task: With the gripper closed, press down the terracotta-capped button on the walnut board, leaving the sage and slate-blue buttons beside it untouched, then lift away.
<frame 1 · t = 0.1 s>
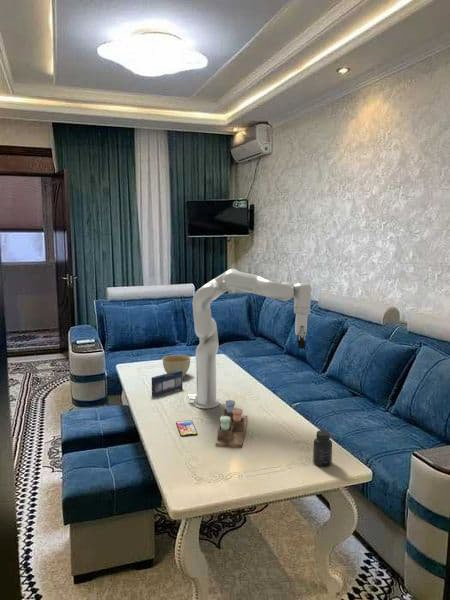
hand: (300, 345, 225), 31 cm above the table, fingers open, 9 cm apart
button slate: (230, 408, 213), point 6 cm above the table, slide at 0.0 cm
supplement bottle: (322, 463, 178), on the table
button terracotta: (237, 417, 204), point 6 cm above the table, slide at 0.0 cm
button board: (232, 431, 205), on the table
smartphone: (186, 429, 208), on the table
button sage: (225, 425, 195), point 6 cm above the table, slide at 0.0 cm
vhs cassette tape: (167, 392, 252), on the table
planter bowl: (176, 376, 278), on the table
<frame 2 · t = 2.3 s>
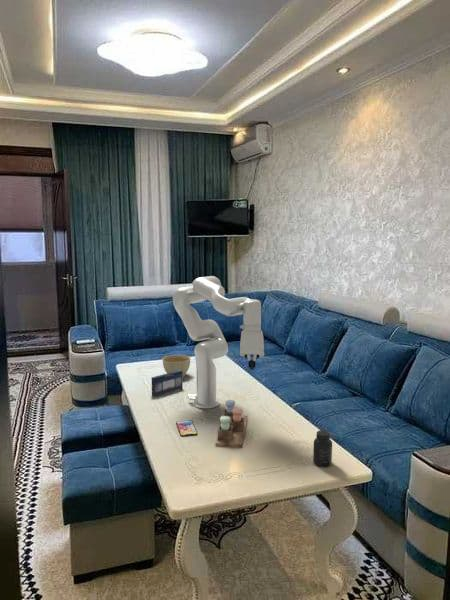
hand: (251, 368, 211), 25 cm above the table, fingers closed
nothing on the table moved.
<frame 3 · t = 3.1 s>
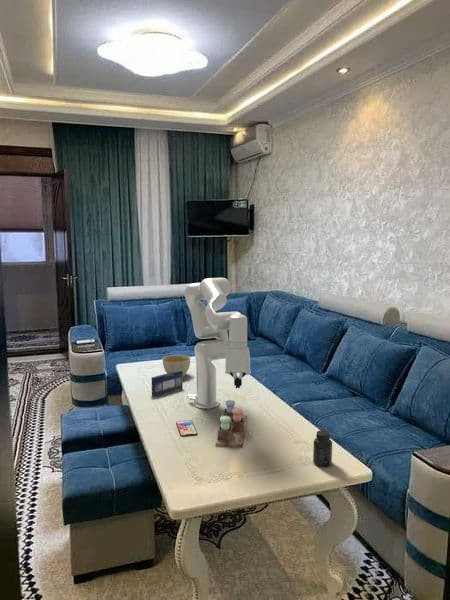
hand: (237, 387, 201), 20 cm above the table, fingers closed
nothing on the table moved.
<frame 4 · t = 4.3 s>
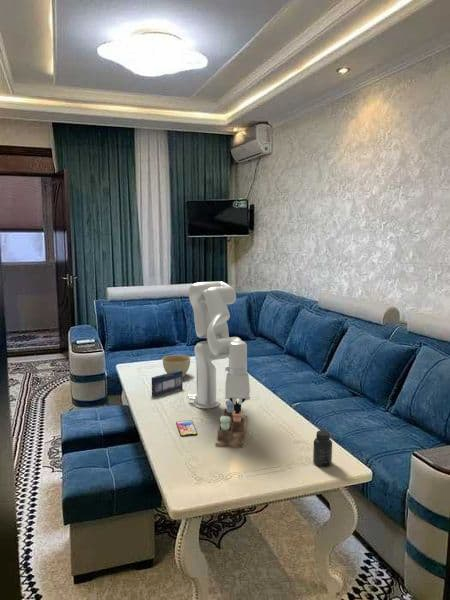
hand: (237, 412, 203), 9 cm above the table, fingers closed
button terracotta: (237, 419, 204), point 6 cm above the table, slide at 1.0 cm, touching gripper
everything else where it was.
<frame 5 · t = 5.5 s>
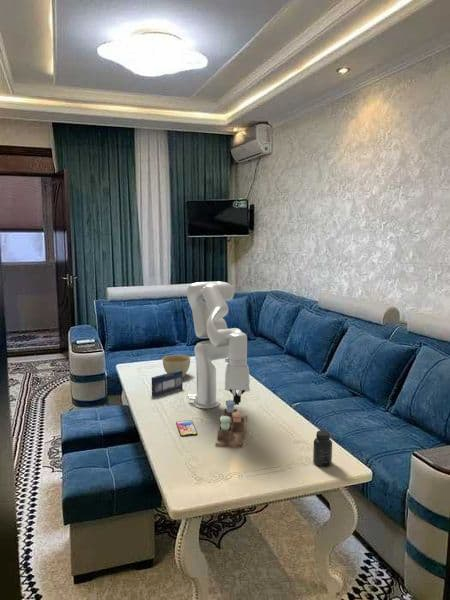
hand: (237, 403, 203), 12 cm above the table, fingers closed
button terracotta: (237, 420, 204), point 5 cm above the table, slide at 1.6 cm
everything else where it was.
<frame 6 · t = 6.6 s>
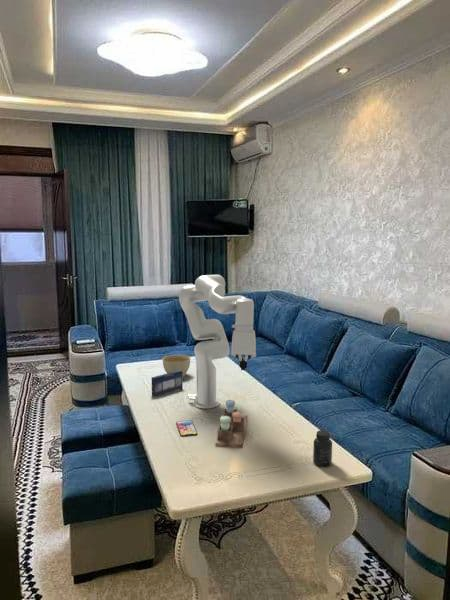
hand: (243, 369, 206), 26 cm above the table, fingers closed
nothing on the table moved.
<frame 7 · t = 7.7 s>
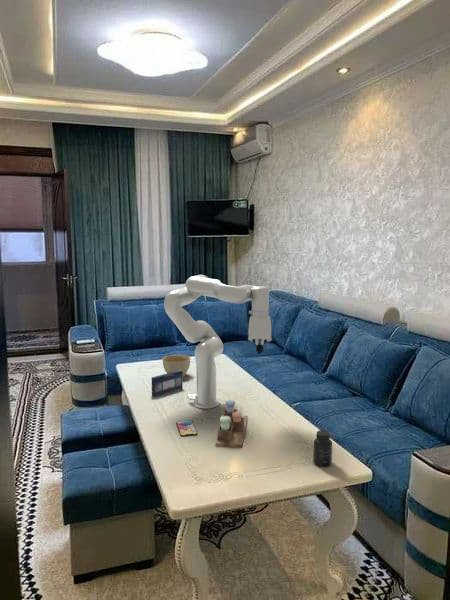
hand: (259, 352, 220), 29 cm above the table, fingers closed
nothing on the table moved.
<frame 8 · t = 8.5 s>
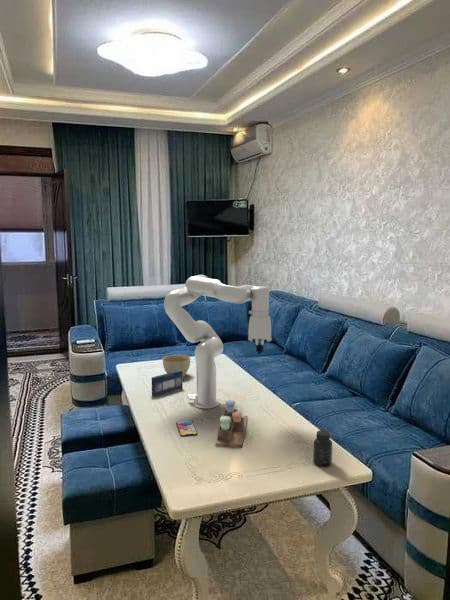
hand: (259, 352, 220), 29 cm above the table, fingers closed
nothing on the table moved.
at the end: button terracotta slide at 1.6 cm; button sage slide at 0.0 cm; button slate slide at 0.0 cm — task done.
